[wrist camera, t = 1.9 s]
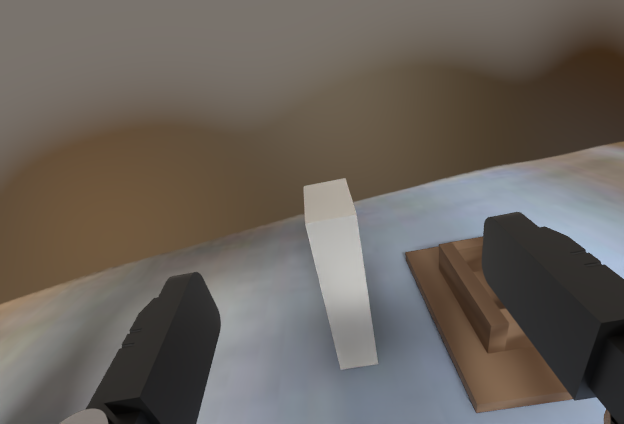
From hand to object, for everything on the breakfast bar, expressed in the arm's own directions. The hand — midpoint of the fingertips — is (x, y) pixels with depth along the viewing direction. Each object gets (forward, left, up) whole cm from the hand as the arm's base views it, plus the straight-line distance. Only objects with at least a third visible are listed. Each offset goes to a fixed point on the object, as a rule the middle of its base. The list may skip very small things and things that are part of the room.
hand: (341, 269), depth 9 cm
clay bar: (0, +11, -18) cm, 21 cm away
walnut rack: (+13, +12, -18) cm, 25 cm away
